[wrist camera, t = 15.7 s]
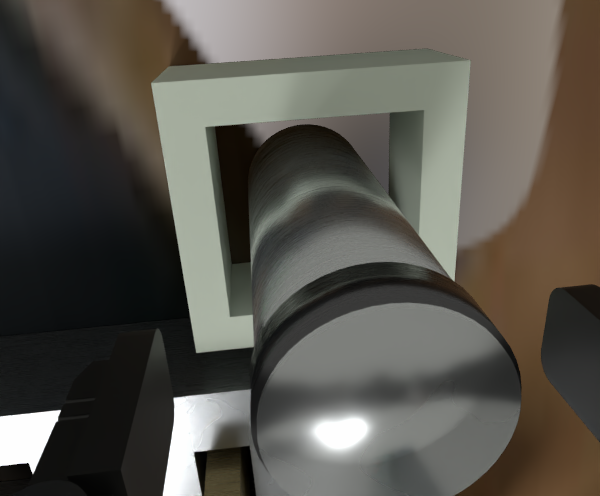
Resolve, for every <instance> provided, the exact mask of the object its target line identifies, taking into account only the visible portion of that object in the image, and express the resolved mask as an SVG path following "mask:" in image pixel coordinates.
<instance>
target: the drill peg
mask: <svg viewBox="0 0 600 496" xmlns="http://www.w3.org/2000/svg"><path fill="white" fill-rule="evenodd" d="M248 200H249V227H250V254H251V281H252V308H253V336H254V350H253V353H252V357H251V363H250V371H249V375H250V419H251V434H252V439H253V444H254V447H255V450H256V452H257V455H258V457H259V459H260V461H261V462H262V464H263V466H264V467H265V469H266V470H267V472H268V473H269V474H270V475H271V476H272V478H273V479H274V480H275V481H276V482H277V483H278V485H279V486H280V487H281V488H282V489H283V490H285V491H286V492H287V493H288V494H289V495H290V496H454V495H456V494H458V493H460V492H461V491H463V490H464V489H466V488H467V487H468V486H470V485H471V484H473V483H474V482H475V481H476V480H478V479H479V478H480V477H481V476H482V475H483V474H484V473H485V472H487V471H488V469H489V468H490V467H491V466H492V465H493V464H494V463H495V462H496V461H497V459H498V458H499V457H500V455H501V454H502V452H503V451H504V450H505V448H506V446H507V445H508V443H509V441H510V439H511V437H512V435H513V433H514V430H515V428H516V425H517V422H518V418H519V413H520V407H521V377H520V371H519V368H518V364H517V360H516V358H515V356H514V354H513V352H512V350H511V348H510V346H509V345H508V343H507V342H506V340H505V339H504V338H503V336H502V335H501V334H500V332H499V331H498V330H497V328H496V327H495V326H494V325H493V323H492V322H491V321H490V319H489V318H488V317H487V315H486V314H485V313H484V312H483V310H482V309H481V308H480V306H479V305H478V304H477V303H476V301H475V300H474V299H473V297H472V296H471V295H470V294H469V293H468V292H467V291H466V290H465V289H464V288H463V287H461V286H460V285H458V284H457V283H456V282H454V281H453V280H452V279H451V278H450V276H449V275H448V274H447V272H446V271H445V270H444V268H443V267H442V266H441V264H440V263H439V262H438V260H437V259H436V258H435V256H434V255H433V254H432V252H431V251H430V250H429V248H428V247H427V246H426V244H425V243H424V242H423V240H422V239H421V238H420V236H419V235H418V234H417V232H416V231H415V230H414V228H413V227H412V226H411V224H410V223H409V222H408V220H407V219H406V218H405V216H404V215H403V214H402V212H401V211H400V210H399V208H398V207H397V206H396V204H395V203H394V202H393V200H392V199H391V198H390V196H389V195H388V194H387V192H386V191H385V190H384V189H383V187H382V186H381V184H380V183H379V182H378V180H377V179H376V178H375V177H374V175H373V174H372V172H371V171H370V170H369V168H368V167H367V166H366V165H365V163H364V162H363V160H362V159H361V158H360V157H359V155H358V154H357V153H356V151H355V150H354V149H353V147H352V146H351V145H350V144H349V142H348V141H347V140H346V139H345V138H343V137H342V136H341V135H340V134H338V133H336V132H335V131H333V130H331V129H328V128H326V127H322V126H318V125H297V126H292V127H288V128H286V129H283V130H281V131H279V132H277V133H276V134H274V135H272V136H271V137H270V138H269V139H267V140H266V141H265V142H264V143H263V144H262V145H261V147H260V148H259V149H258V151H257V152H256V154H255V156H254V157H253V160H252V162H251V165H250V169H249V173H248Z"/></svg>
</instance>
